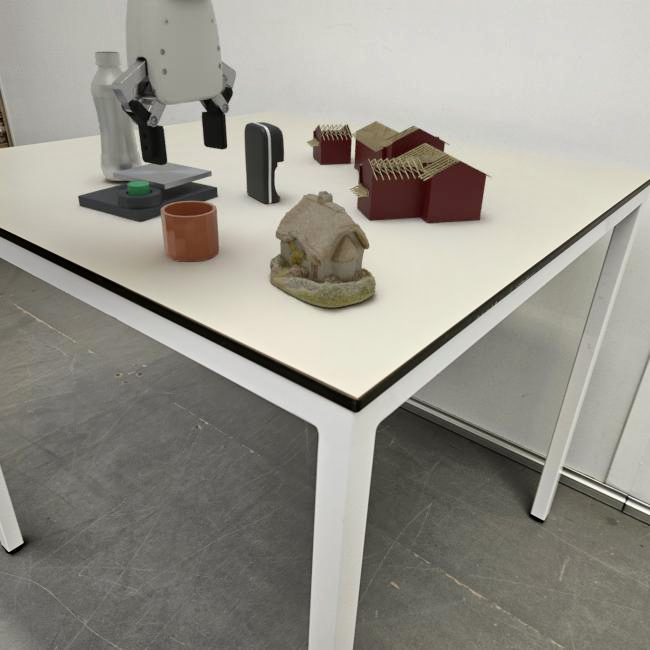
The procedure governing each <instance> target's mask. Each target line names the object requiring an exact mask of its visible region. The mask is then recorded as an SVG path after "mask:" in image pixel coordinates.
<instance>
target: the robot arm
mask: <svg viewBox="0 0 650 650" xmlns="http://www.w3.org/2000/svg"><path fill="white" fill-rule="evenodd" d="M126 1H127V2H126V12H125V51H126V64H127V65H126V67H127V69H126V70H125V71H123V72H124V73H123V74H122V75H120V76H119V77H118V78H117V79H116V80H115V81H114V82H113V83H112V89H113V91H114V93H115V94H116V96H117V98H118V100H119V102H120V103H121V107H122V109H123V111H124V112H125V113H126V114H128V115H129V116H130V117H131V120H132V122H133V125H137V128H138V136H139V143H140V151H141V160H142V161H143V162H144V163H146V164H151V163H152V164H157V165H165V164H166V163H167V162H168V153H167V145H166V136H165V135H166V134H165V128H164V126H163V125H159V123H160V121H161V119H162V116H163V114H164V111H165V110H166V107H167V106H173V105H180V104H187V103H193V102H199V103H200V104H201V105H202V107H203V108H204V109H205V111H201V126H202V138H203V145H204V147H206V148H210V149H215V150H226V149H227V148H228V135H227V134H228V133H227V119H226V114H227V113H228V112H229V110H230V106H229V103H230V101H231V100H232V98H233V95H234V90H233V89H234V85H235V81H236V77H237V73H236V70H235V69H234V68H232V66H230V65H228V64H227V63H225V62H224V61H222V51H221V43H220V36H219V30H218V29H219V28H218V24H217V19H216V13H215V9H214V5H213V2H212V0H126Z"/></svg>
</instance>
